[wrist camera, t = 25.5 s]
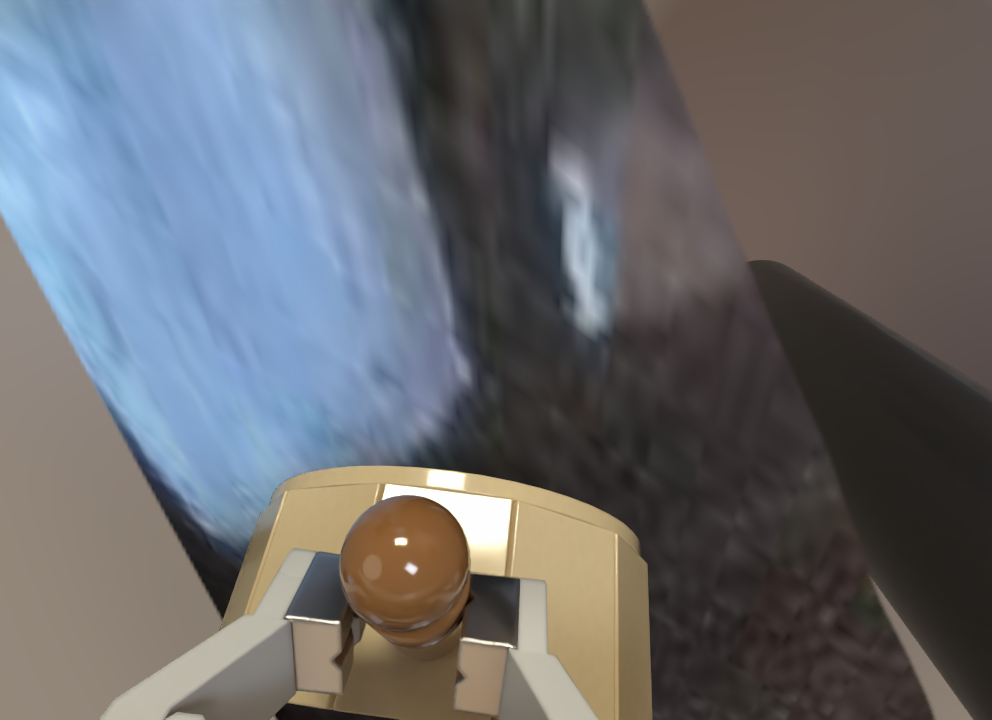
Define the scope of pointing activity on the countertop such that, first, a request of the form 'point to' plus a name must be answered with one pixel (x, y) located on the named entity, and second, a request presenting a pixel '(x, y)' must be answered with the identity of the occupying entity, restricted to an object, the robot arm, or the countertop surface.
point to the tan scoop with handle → (457, 581)
